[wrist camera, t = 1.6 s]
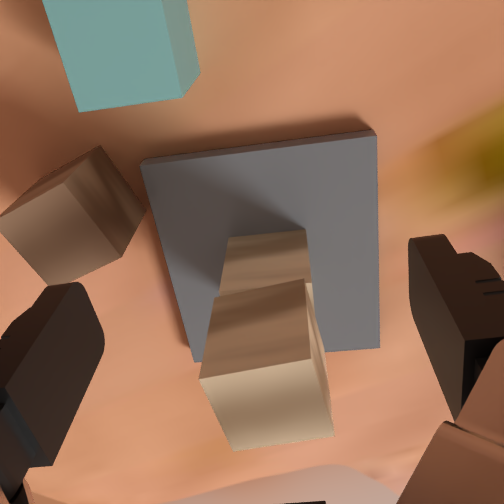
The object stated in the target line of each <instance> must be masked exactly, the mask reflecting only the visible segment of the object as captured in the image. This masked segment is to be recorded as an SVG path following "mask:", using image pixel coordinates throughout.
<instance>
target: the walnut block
mask: <svg viewBox="0 0 504 504" xmlns="http://www.w3.org/2000/svg"><path fill="white" fill-rule="evenodd" d="M145 212H146V209H145V208H144V206H143V205H142V203H141V202H140V201H139V199H138V198H137V196H136V195H135V194H134V192H133V191H132V189H131V188H130V187H129V185H128V184H127V182H126V181H125V180H124V178H123V177H122V175H121V174H120V172H119V171H118V170H117V168H116V167H115V165H114V164H113V163H112V161H111V160H110V158H109V157H108V156H107V154H106V153H105V151H104V150H103V149H102V147H101V146H98V147H96V148H94V149H93V150H91V151H89V152H87V153H86V154H84V155H82V156H80V157H78V158H77V159H75V160H73V161H71V162H70V163H68V164H66V165H64V166H63V167H61V168H59V169H57V170H56V171H54V172H52V173H50V174H49V175H47V176H45V177H43V178H42V179H40V180H38V181H37V182H36V183H35V184H34V185H33V186H32V187H31V188H30V189H28V190H27V191H26V192H25V193H24V194H23V195H22V196H21V197H19V198H18V199H17V200H16V201H15V202H14V203H13V204H12V205H11V206H9V207H8V208H7V209H6V210H5V211H4V212H3V213H2V214H1V215H0V232H1V234H2V235H3V236H4V237H5V238H6V239H7V240H8V241H9V242H10V244H11V245H12V246H13V247H14V248H15V249H16V250H17V251H18V252H19V254H20V255H21V256H22V257H23V258H24V259H25V260H26V261H27V262H28V264H29V265H30V266H31V267H32V268H33V269H34V270H35V271H36V272H37V274H38V275H39V276H40V277H41V278H42V279H43V280H44V281H45V282H46V284H47V285H48V286H50V285H57V284H65V283H69V282H71V281H73V280H75V279H78V278H80V277H82V276H84V275H86V274H88V273H90V272H92V271H94V270H96V269H98V268H100V267H102V266H105V265H107V264H109V263H111V262H113V261H115V260H117V259H119V258H121V257H122V256H123V254H124V252H125V250H126V248H127V246H128V244H129V242H130V240H131V239H132V237H133V235H134V233H135V231H136V229H137V227H138V225H139V224H140V222H141V220H142V218H143V216H144V214H145Z"/></svg>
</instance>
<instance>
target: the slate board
mask: <svg viewBox="0 0 504 504" xmlns="http://www.w3.org/2000/svg"><path fill="white" fill-rule="evenodd" d="M140 170H141V173H142V177H143V181H144V184H145V188H146V191H147V195H148V199H149V202H150V206H151V209H152V213H153V216H154V220H155V224H156V227H157V231H158V234H159V238H160V241H161V245H162V249H163V252H164V256H165V259H166V263H167V266H168V270H169V274H170V277H171V281H172V284H173V288H174V292H175V295H176V299H177V302H178V306H179V309H180V313H181V317H182V320H183V324H184V327H185V331H186V334H187V338H188V342H189V345H190V349H191V352H192V356H193V360H194V362H202V359H203V354H204V349H205V344H206V338H207V333H208V328H209V323H210V318H211V312H212V307H213V302H214V298H215V297H220V294H219V288H220V283H221V277H222V272H223V266H224V261H225V255H226V249H227V244H228V238H229V237H238V236H248V235H257V234H266V233H276V232H285V231H294V230H304V229H306V234H307V243H308V252H309V261H310V270H311V279H312V289H313V299H314V309H315V318H316V321H317V325H318V328H319V332H320V335H321V339H322V342H323V346H324V351H325V352H335V351H348V350H361V349H374V348H380V315H379V247H378V180H377V135H376V133H375V132H374V130H365V131H357V132H349V133H342V134H334V135H326V136H318V137H311V138H303V139H295V140H287V141H280V142H272V143H264V144H257V145H249V146H241V147H233V148H226V149H218V150H210V151H202V152H195V153H187V154H179V155H171V156H164V157H156V158H148V159H144V160H143V161H142V163H141V164H140Z"/></svg>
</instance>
